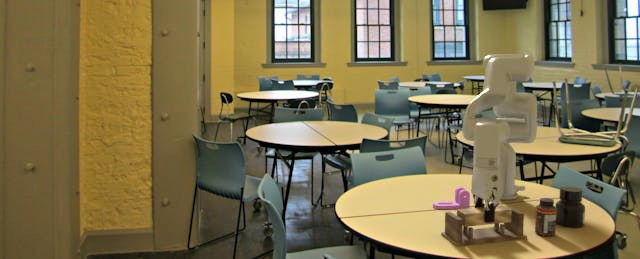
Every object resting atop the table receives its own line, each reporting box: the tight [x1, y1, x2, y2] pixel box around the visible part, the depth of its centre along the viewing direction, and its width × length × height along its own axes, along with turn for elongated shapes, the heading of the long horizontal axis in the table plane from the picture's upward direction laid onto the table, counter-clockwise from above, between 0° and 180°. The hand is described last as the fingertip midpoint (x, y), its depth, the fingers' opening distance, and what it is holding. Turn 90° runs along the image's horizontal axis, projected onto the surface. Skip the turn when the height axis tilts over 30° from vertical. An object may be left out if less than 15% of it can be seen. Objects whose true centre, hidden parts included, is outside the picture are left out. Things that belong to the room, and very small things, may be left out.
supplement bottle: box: [534, 197, 557, 237], centre depth 161 cm, size 6×6×11 cm
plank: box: [456, 204, 512, 228], centre depth 159 cm, size 16×5×4 cm, turn 104°
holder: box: [440, 205, 528, 247], centre depth 159 cm, size 24×10×8 cm, turn 104°
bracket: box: [432, 186, 471, 210], centre depth 192 cm, size 13×6×7 cm, turn 93°
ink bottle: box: [554, 186, 586, 228], centre depth 170 cm, size 10×9×12 cm
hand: (484, 218), depth 159 cm, fingers closed on plank, 4 cm apart
